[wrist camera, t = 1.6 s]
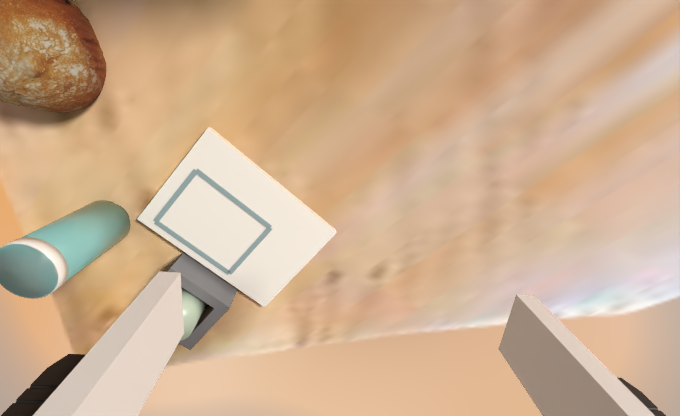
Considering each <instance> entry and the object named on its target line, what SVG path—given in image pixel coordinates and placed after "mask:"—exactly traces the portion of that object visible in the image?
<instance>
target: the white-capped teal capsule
mask: <svg viewBox="0 0 680 416" xmlns="http://www.w3.org/2000/svg"><path fill="white" fill-rule="evenodd" d="M129 230H130V220H129V216H128V214H127V212H126V211H125V210H124V209H123V208H122V207H121V206H119V205H117V204H115V203H112V202H109V201H95V202H93V203H91V204H89V205H87V206H85V207H83V208H81V209H79V210H77V211H75V212H73V213H70V214H68V215H66V216H64V217H62V218H60V219H58V220H56V221H54V222H52V223H50V224H48V225H46V226H44V227H42V228H40V229H38V230H36V231H34V232H32V233H30V234H28V235H26V236H24V237H22V238H19V239H16V240H14V241H12V242H10V243H8V244H6V245H4V246H2V247H0V284H1V285H2V286H3V287H4V288H5V289H6V290H8V291H10V292H11V293H13V294H15V295H18V296H21V297H25V298H32V299H33V298H42V297H45V296H48V295H49V294H51V293H52V292H54V291H55V290H56V289H58V288H59V287H60V286H61V285H63V284H64V283H65V282H66V281H67V280H68V279H70V278H71V277H72V276H74V275H75V274H76V273H78V272H79V271H80V270H82V269H83V268H84V267H86V266H87V265H88V264H90V263H91V262H92V261H94V260H95V259H97V258H98V257H99V256H101V255H102V254H103V253H105V252H106V251H107V250H109V249H110V248H111V247H113V246H114V245H115V244H117V243H118V242H119V241H121V240H122V239H123V238H125V237H126V236H127V234H128V233H129Z"/></svg>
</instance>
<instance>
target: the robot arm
mask: <svg viewBox="0 0 680 416" xmlns="http://www.w3.org/2000/svg"><path fill="white" fill-rule="evenodd" d="M183 334H184V322H183V306H182V289H181V273H178V272H162V271H159V272H158V273H157V274H156V276H155V277H154V278H153V279H152V280H151V281H150V282H149V283H148V285H147V286H146V287H145V288H144V289H143V290H142V291H141V293H140V294H139V295H138V296H137V297H136V298H135V299H134V301H133V302H132V303H131V304H130V305H129V306H128V307H127V309H126V310H125V311H124V312H123V313H122V314H121V315H120V317H119V318H118V319H117V320H116V321H115V322H114V323H113V325H112V326H111V327H110V328H109V329H108V330H107V331H106V333H105V334H104V335H103V336H102V337H101V338H100V339H99V341H98V342H97V343H96V344H95V345H94V346H93V347H92V349H91V350H90V351H89V352H88V353H87V354H86V355H81V354H68V355H67V356H65V357H64V358H62V359H61V360H59V361H57V362H56V363H54V364H53V365H51V366H50V367H48V368H47V369H46V370H45V371H44V372H43V373H42V374H41V375H40V376H39V377H38V378H37V379H36V380H35V381H34V382H33V383H32V384H31V387H30V388H29V389H26V390H25V391H24V392H23V393H22V395H21V396H20V397H19V398H18V399H17V401H16V403H13V404H12V405H11V406H10V407H9V408H8V409H7V410H6V411H5V412H4V413H3V414H2V415H1V416H138V415H139V413H140V411H141V409H142V408H143V406H144V404H145V402H146V400H147V399H148V397H149V395H150V393H151V391H152V390H153V388H154V386H155V384H156V383H157V381H158V379H159V377H160V375H161V373H162V372H163V370H164V368H165V366H166V365H167V363H168V361H169V359H170V357H171V356H172V354H173V352H174V350H175V349H176V347H177V345H178V343H179V341H180V340H181V338H182V336H183ZM499 350H500V352H501V353H502V355H503V356H504V358H505V359H506V361H507V362H508V364H509V365H510V367H511V368H512V370H513V371H514V373H515V374H516V376H517V377H518V379H519V380H520V382H521V383H522V385H523V387H524V388H525V389H526V391H527V393H528V394H529V395H530V397H531V398H532V400H533V402H534V403H535V404H536V406H537V408H538V409H539V410H540V412H541V413H542V415H543V416H666V415H664V414H663V412H661V411H658V409H657V407H656V406H655V405H654V404H653V403H652V402H651V401H650V400H649V399H648V398H647V397H646V396H645V395H644V394H643V393H642V392H641V391H639V390H638V389H636V388H635V387H633V386H632V385H630V384H629V383H628V382H626V381H625V380H623V379H622V378H617V377H616V376H614V374H613V373H611V371H609V369H608V368H607V367H606V366H604V365H603V364H602V362H601V361H599V359H598V358H597V357H596V356H595V355H594V354H593V353H591V351H589V350H588V348H586V347H585V346H584V345H583V344H582V343H581V342H580V341H579V340H578V339H577V338H576V337H575V336H574V335H573V334H572V333H571V332H570V331H569V330H568V329H567V328H566V327H565V326H564V325H563V324H562V323H561V322H560V321H559V320H558V319H557V318H556V317H555V316H554V315H553V314H552V313H551V312H550V311H549V310H548V309H547V308H546V307H545V306H544V305H543V304H542V303H541V302H540V301H539V300H538V299H537V298H536V297H535V296H531V295H516V297H515V301H514V304H513V307H512V310H511V313H510V316H509V319H508V322H507V325H506V328H505V331H504V334H503V337H502V340H501V343H500V346H499Z"/></svg>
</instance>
